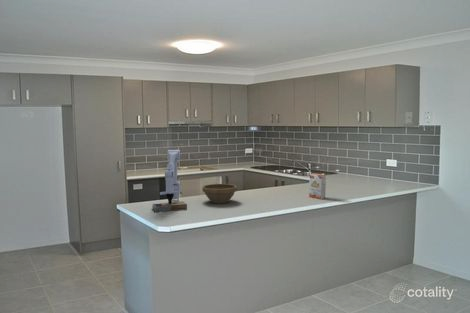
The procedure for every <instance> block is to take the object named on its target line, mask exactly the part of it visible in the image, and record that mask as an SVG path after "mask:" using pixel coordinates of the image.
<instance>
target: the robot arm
mask: <svg viewBox="0 0 470 313" xmlns="http://www.w3.org/2000/svg"><path fill="white" fill-rule="evenodd" d="M166 154H167V156H166V157H167V159H168V161H169V162H168V163H167V165H166V170H165V171H164V178H165V179H164V180H165V190H164V191H160V192H159V195H160V196H162V195H163V196H164V195H165V196H166V198H167V200H168V202H169V204H171V202H172V199H178V201H180V193H181V189H182V188H181V183H180V182H179V181H178V162H179V161H180V160H181V151H180V149H168V150H167V153H166ZM168 202H167V203H168Z"/></svg>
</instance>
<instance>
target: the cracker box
mask: <svg viewBox="0 0 470 313" xmlns="http://www.w3.org/2000/svg"><path fill="white" fill-rule="evenodd" d="M326 178H327V177H326V174H320V173H313V172H311V173H309V181H308V183H309V184H308V190H309V191H308V197H309V198H313V199H317V200H324V199H326V185H327V184H326V183H327V181H326V180H327V179H326Z"/></svg>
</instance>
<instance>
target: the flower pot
mask: <svg viewBox="0 0 470 313" xmlns="http://www.w3.org/2000/svg"><path fill="white" fill-rule="evenodd" d="M237 191H238V187H237V185H236V184H232V183H231V184H230V183H212V184H205V185H203V186H202V192H203V193H204V194H205V196H206V197H207V198H208V200H209V201H210V202H211V203H214V204H225V203H228V202H229V201H230V200H231V199H232V197H233V196H234V195H235V193H236V192H237Z"/></svg>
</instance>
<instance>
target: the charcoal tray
mask: <svg viewBox="0 0 470 313" xmlns="http://www.w3.org/2000/svg"><path fill="white" fill-rule="evenodd" d="M165 203H167V204H168V202H162V203H161V202H160V203H152V210H153V211H154V212H155V213H157V212H160V211H161V212H169V211H170V212H171V211H172V210H171V205H170V204H168V206H162V207H161V204H165Z"/></svg>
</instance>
